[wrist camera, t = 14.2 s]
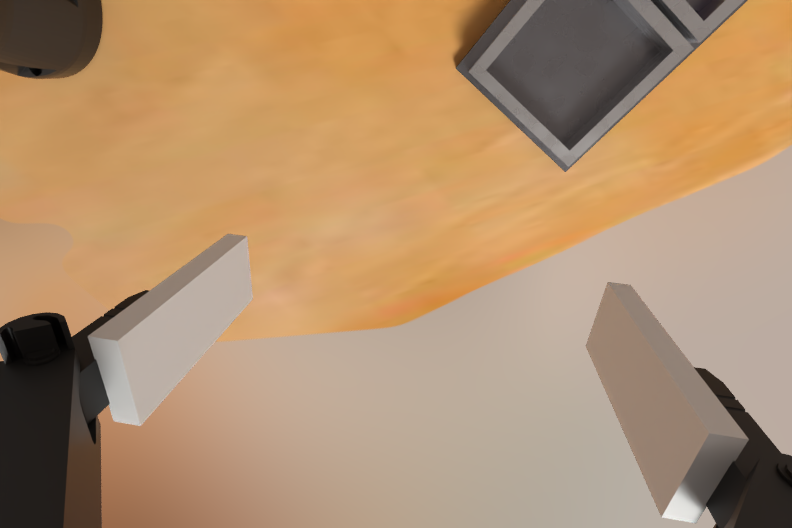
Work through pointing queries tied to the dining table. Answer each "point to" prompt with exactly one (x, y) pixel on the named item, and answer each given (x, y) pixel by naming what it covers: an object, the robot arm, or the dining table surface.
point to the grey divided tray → (584, 62)
